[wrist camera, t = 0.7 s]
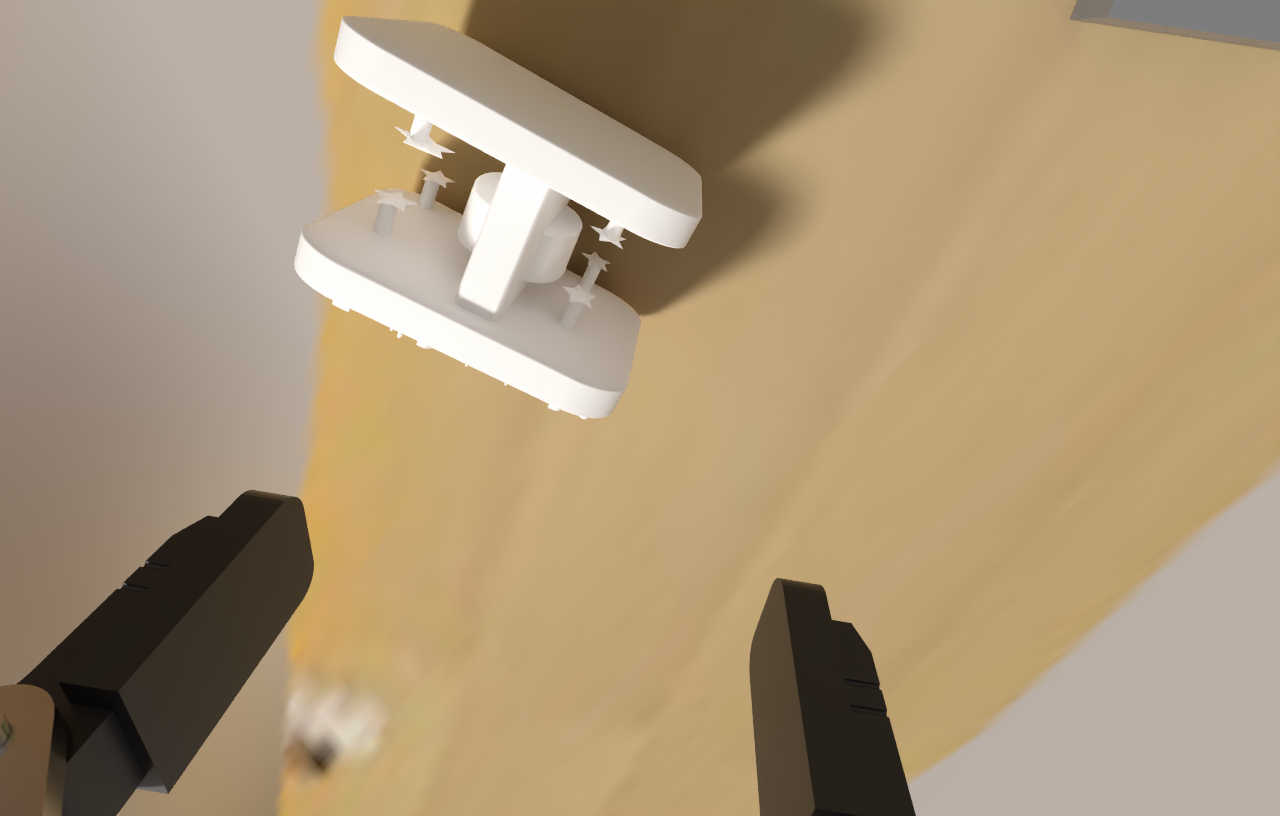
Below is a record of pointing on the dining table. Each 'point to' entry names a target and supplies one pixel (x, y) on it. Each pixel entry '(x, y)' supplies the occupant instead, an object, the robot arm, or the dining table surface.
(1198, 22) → the socket board
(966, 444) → the dining table surface
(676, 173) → the cable organizer
